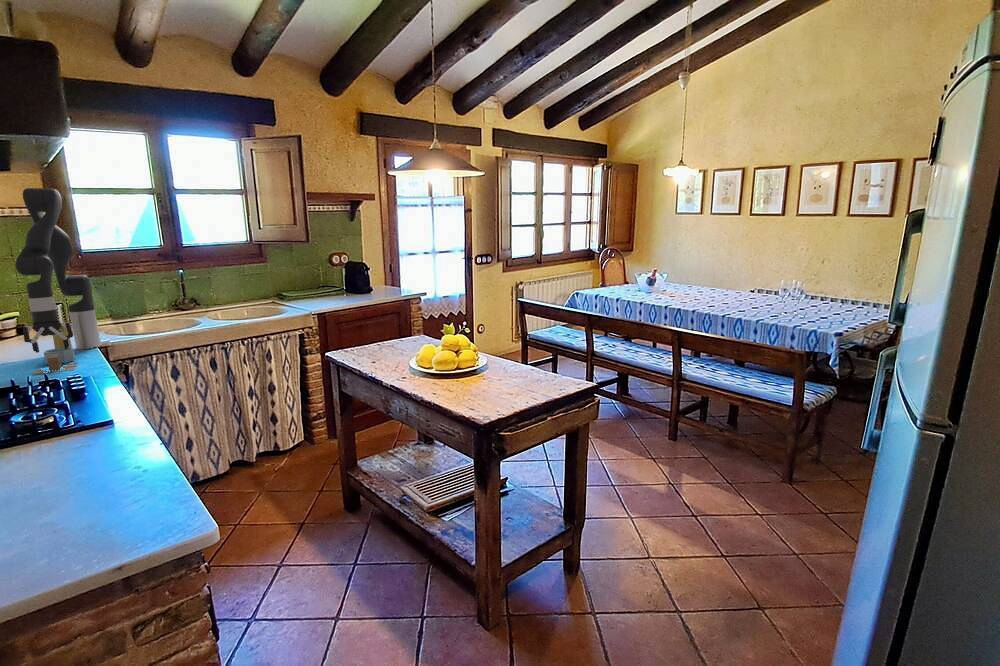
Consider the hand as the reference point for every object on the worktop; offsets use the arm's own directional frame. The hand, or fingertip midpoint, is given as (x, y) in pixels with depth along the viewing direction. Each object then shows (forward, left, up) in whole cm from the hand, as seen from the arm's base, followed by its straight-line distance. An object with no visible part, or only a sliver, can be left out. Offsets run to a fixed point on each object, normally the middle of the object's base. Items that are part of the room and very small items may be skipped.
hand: (52, 350), depth 201 cm
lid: (0, 0, -8) cm, 8 cm away
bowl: (-14, 0, -7) cm, 16 cm away
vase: (-26, 0, -8) cm, 27 cm away
